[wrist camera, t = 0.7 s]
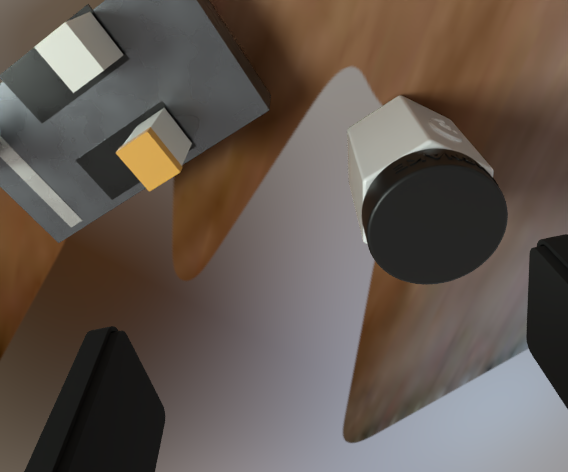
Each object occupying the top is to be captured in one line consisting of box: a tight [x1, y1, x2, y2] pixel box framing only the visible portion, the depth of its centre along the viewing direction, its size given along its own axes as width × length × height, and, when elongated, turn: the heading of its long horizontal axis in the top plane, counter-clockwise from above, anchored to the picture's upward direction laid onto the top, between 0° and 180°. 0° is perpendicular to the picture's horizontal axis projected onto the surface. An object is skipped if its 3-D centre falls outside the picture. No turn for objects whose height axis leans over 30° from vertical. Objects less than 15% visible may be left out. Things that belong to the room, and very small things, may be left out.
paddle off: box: [34, 12, 123, 93], centre depth 29 cm, size 2×3×4 cm
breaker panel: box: [0, 0, 271, 243], centre depth 35 cm, size 20×11×4 cm, turn 122°
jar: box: [347, 95, 508, 284], centre depth 34 cm, size 9×8×12 cm
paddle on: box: [116, 108, 192, 191], centre depth 32 cm, size 2×3×5 cm
